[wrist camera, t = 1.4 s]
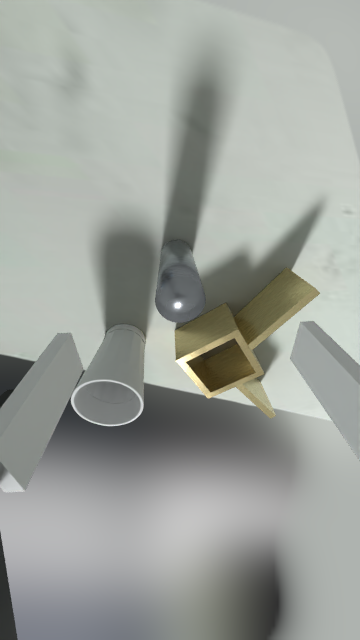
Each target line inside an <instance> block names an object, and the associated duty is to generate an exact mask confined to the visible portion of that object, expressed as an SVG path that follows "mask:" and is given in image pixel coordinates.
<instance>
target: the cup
mask: <svg viewBox="0 0 360 640" xmlns="http://www.w3.org/2000/svg"><path fill="white" fill-rule="evenodd" d="M145 344H146V340H145V336H144V334H143V333H142V332H141V331H140V330H139V329H138V328H136V327H134V326H132V325H128V324H119V325H115V326H113V327H111V328H110V329H109V330H108V331H107V333H106V335H105V338H104V340H103V342H102V344H101V346H100V347H99V349H98V351H97V353H96V354H95V356H94V358H93V360H92V362H91V363H90V365H89V367H88V369H87V370H86V371H85V373H84V375H83V376H82V378H81V380H80V381H79V383H78V385H77V387H76V388H75V390H74V392H73V393H72V396H71V403H72V406H73V408H74V410H75V411H76V412H77V413H78V414H79V415H80V416H81V417H82V418H84V419H86V420H88V421H90V422H92V423H95V424H99V425H105V426H118V425H123V424H126V423H129V422H131V421H133V420H135V419H136V418H137V417H138V416H139V415H140V414H141V412H142V410H143V404H144V403H143V401H144V397H143V396H144V382H143V379H144V350H145Z"/></svg>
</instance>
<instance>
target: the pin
mask: <svg viewBox="0 0 360 640" xmlns="http://www.w3.org/2000/svg"><path fill="white" fill-rule="evenodd" d="M205 301H206V299H205V293H204V290H203V287H202V283H201V280H200V277H199V274H198V271H197V267H196V264H195V261H194V258H193V255H192V252H191V249H190V247H189V245H188V244H187V243H185V242H184V241H181V240H171V241H169V242H168V243H166V244H165V245H164V247H163V248H162V251H161V257H160V265H159V273H158V281H157V289H156V297H155V303H156V307H157V310H158V311H159V313H160V314H161V315H162V316H163V317H164V318H166V319H167V320H170V321H172V322H178V323H181V322H187V321H190V320H193V319H194V318H196V317H197V316H198V315H199V314H200V313H201V312H202V310H203V308H204V306H205Z"/></svg>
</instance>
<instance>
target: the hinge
mask: <svg viewBox="0 0 360 640" xmlns="http://www.w3.org/2000/svg"><path fill="white" fill-rule="evenodd" d="M319 294H320V293H319V292H318V291H317V290H316V289H315V288H314V287H313V286H311V285H310V284H309V283H307V282H306V281H305V280H303V279H302V278H301V277H299V276H298V275H296V274H295V273H294V272H292V271H291V270H290V269H288V268H287V267H286V268H285V269H284V270H283V271H282V272H281V273H280V274H279V275H278V276H277V277H276V278H275V279H274V280H273V281H272V282H271V283H269V284H268V285H267V286H266V287H265V288H264V289H263V290H262V291H261V292H260V293H259V294H258V295H257V296H256V297H255V298H254V299H253V300H251V301H250V302H249V303H248V304H247V305H246V306H245V307H244V308H243V309H242V310H241V311H240V312H239V313H238V314H237V315H236V316H235V317H234V316H233V314H232V312H231V311H230V309H229V307H228V306H227V304H226V303H224V304H222V305H221V306H219V307H217V308H215V309H213V310H211V311H209V312H208V313H206V314H204V315H202V316H200V317H198V318H197V319H195V320H193V321H191V322H189V323H187V324H186V325H184V326H182V327H180V328H178V329H176V330H175V349H176V361H177V363H178V364H179V365H180V366H181V367H182V369H183V370H184V371H185V372H186V373H187V374H188V376H189V377H190V378H191V379H192V380H193V381H194V383H195V384H196V385H197V386H198V387H199V388H200V390H201V391H202V392H203V393H204V394H205V395H206V397H207V398H211V397H213V396H215V395H218V394H220V393H222V392H225V391H227V390H229V389H231V388H234V387H236V388H238V389H239V390H240V391H241V392H242V393H243V394H244V395H245V396H246V397H247V398H248V399H250V400H251V401H252V402H253V403H254V404H255V405H256V406H257V407H258V408H259V409H260V410H262V411H263V412H264V413H265V414H266V415H267V416H268V417H269V418H272V417H274V416H276V415H275V413H274V411H273V408H272V406H271V404H270V402H269V400H268V397H267V395H266V393H265V391H264V389H263V386H262V384H261V382H260V381H259V380H258V379H257V377H259V376H261V375H264V372H263V370H262V368H261V366H260V364H259V362H258V360H257V357H256V355H255V353H254V351H253V349H254V348H255V347H256V346H258V345H259V344H260V343H261V342H262V341H264V340H265V339H266V338H267V337H268V336H270V335H271V334H272V333H273V332H274V331H276V330H277V329H278V328H279V327H280V326H282V325H283V324H284V323H285V322H286V321H288V320H289V319H290V318H291V317H292V316H294V315H295V314H296V313H297V312H298V311H300V310H301V309H302V308H303V307H304V306H306V305H307V304H308V303H309V302H310V301H312V300H313V299H314V298H315V297H316V296H318V295H319ZM233 338H235V339H236V341H237V343H238V344H236V345H234V346H232V347H230V348H228V349H226V350H224V351H222V352H220V353H218V354H216V355H214V356H212V357H210V358H208V359H206V360H204V359H203V358H202V356H201V354H203V353H205V352H207V351H209V350H211V349H213V348H215V347H217V346H219V345H221V344H223V343H225V342H227V341H229V340H231V339H233Z"/></svg>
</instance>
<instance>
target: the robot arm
mask: <svg viewBox="0 0 360 640" xmlns="http://www.w3.org/2000/svg"><path fill="white" fill-rule="evenodd" d="M290 359H291V361H292V362H293V364H294V365H295V367H296V368H297V370H298V371H299V373H300V374H301V376H302V377H303V378H304V380H305V381H306V383H307V384H308V386H309V387H310V389H311V390H312V392H313V393H314V395H315V396H316V398H317V399H318V400H319V402H320V403H321V405H322V406H323V408H324V409H325V411H326V412H327V414H328V415H329V417H330V418H331V420H332V421H333V422H334V424H335V425H336V427H337V428H338V430H339V431H340V433H341V434H342V436H343V437H344V438H345V440H346V441H347V443H348V444H349V446H350V447H351V449H352V450H353V452H354V453H355V455H356V456H357V457H358V459H359V461H360V365H359V364H358V363H357V362H356V361H355V360H354V359H352V358H351V357H350V356H349V355H348V354H347V353H346V352H345V351H344V350H343V349H342V348H341V347H340V346H339V345H338V344H337V343H336V342H335V341H334V340H333V339H332V338H331V337H330V336H329V335H327V334H326V333H325V332H324V331H323V330H322V329H321V328H320V327H319V326H318V325H317V324H316V323H315V322H314V321H308V322H300V325H299V329H298V332H297V336H296V339H295V343H294V346H293V350H292V354H291V357H290ZM82 371H83V366H82V363H81V360H80V357H79V355H78V352H77V349H76V346H75V343H74V340H73V337H72V334H71V333H57V335H56V336H55V337H54V339H53V340H52V341H51V343H50V344H49V345H48V347H47V348H46V349H45V350H44V352H43V353H42V354H41V356H40V357H39V358H38V360H37V361H36V362H35V364H34V365H33V366H32V368H31V369H30V370H29V371H28V373H27V374H26V375H25V377H24V378H23V379H22V381H21V382H20V383H19V385H18V386H17V387H16V389H15V390H7V391H6V392H4V393H3V394H2V395H1V396H0V488H1V489H2V490H3V491H4V492H20V491H25V490H26V488H27V486H28V484H29V482H30V480H31V478H32V476H33V474H34V471H35V469H36V467H37V465H38V463H39V461H40V459H41V457H42V455H43V453H44V451H45V448H46V446H47V444H48V442H49V440H50V438H51V436H52V433H53V432H54V430H55V427H56V425H57V423H58V421H59V419H60V417H61V415H62V413H63V411H64V409H65V407H66V404H67V402H68V400H69V398H70V396H71V394H72V392H73V390H74V387H75V385H76V383H77V381H78V379H79V377H80V375H81V373H82ZM0 640H17V633H16V627H15V620H14V614H13V608H12V602H11V595H10V589H9V583H8V577H7V571H6V564H5V558H4V552H3V546H2V540H1V533H0Z"/></svg>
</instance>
